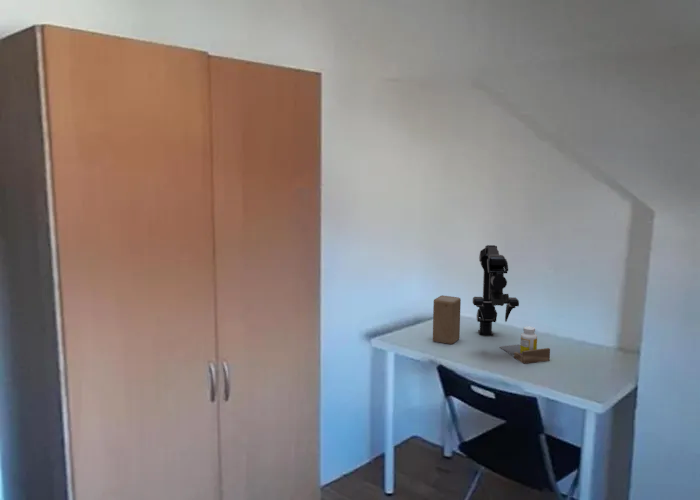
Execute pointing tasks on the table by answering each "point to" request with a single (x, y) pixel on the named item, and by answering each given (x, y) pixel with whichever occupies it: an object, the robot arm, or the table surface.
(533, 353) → the shelf lane
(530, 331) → the supplement bottle
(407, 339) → the table surface
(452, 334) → the wooden block
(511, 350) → the pad
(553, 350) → the table surface
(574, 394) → the table surface
